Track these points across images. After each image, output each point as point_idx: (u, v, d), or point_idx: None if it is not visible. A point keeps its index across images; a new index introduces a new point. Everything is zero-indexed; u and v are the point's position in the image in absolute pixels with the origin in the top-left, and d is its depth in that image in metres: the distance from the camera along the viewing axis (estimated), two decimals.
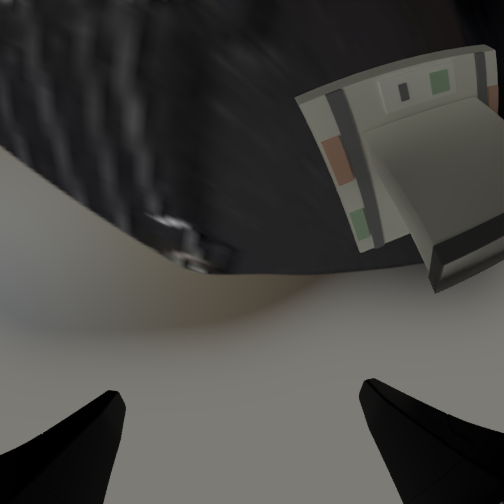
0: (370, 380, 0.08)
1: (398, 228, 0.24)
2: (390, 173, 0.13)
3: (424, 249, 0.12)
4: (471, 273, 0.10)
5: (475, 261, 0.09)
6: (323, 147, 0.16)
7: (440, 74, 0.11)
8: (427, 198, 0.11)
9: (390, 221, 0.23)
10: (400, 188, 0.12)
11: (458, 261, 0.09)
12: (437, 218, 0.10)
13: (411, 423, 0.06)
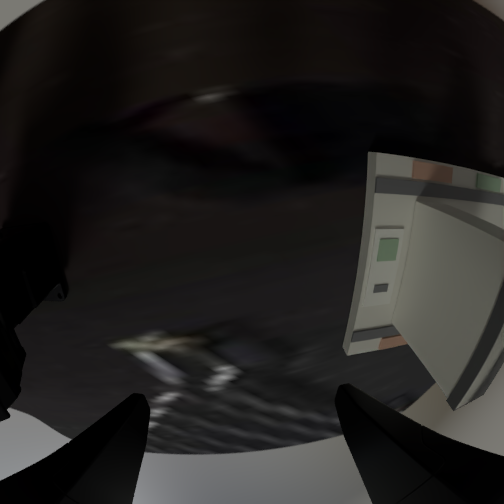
0: (345, 385, 0.08)
1: None
2: (416, 351, 0.17)
3: None
4: (494, 373, 0.10)
5: (482, 380, 0.10)
6: (382, 348, 0.21)
7: (382, 248, 0.17)
8: (435, 365, 0.14)
9: None
10: None
11: (463, 399, 0.11)
12: (444, 378, 0.13)
13: (381, 433, 0.06)
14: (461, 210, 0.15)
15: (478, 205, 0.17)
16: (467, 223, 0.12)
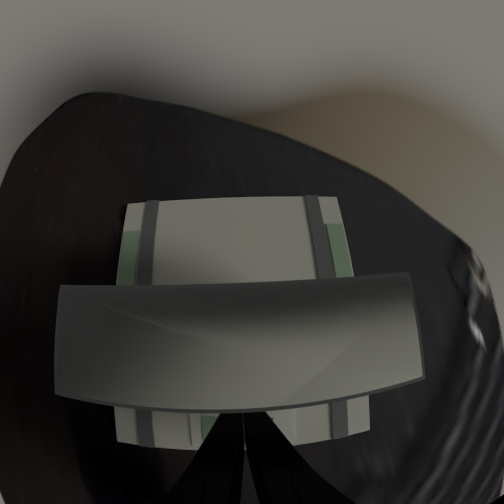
0: None
1: (282, 214, 0.20)
2: None
3: None
4: (345, 296, 0.07)
5: (354, 346, 0.06)
6: None
7: None
8: None
9: (296, 234, 0.19)
10: None
11: (398, 373, 0.06)
12: None
13: (254, 456, 0.05)
14: None
15: (156, 274, 0.17)
16: None
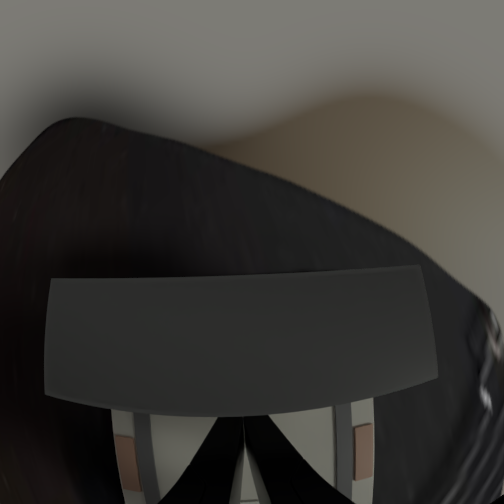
0: None
1: None
2: None
3: None
4: (354, 289, 0.06)
5: (365, 344, 0.06)
6: (371, 472, 0.12)
7: None
8: None
9: None
10: None
11: (411, 371, 0.06)
12: None
13: (254, 456, 0.05)
14: None
15: None
16: None
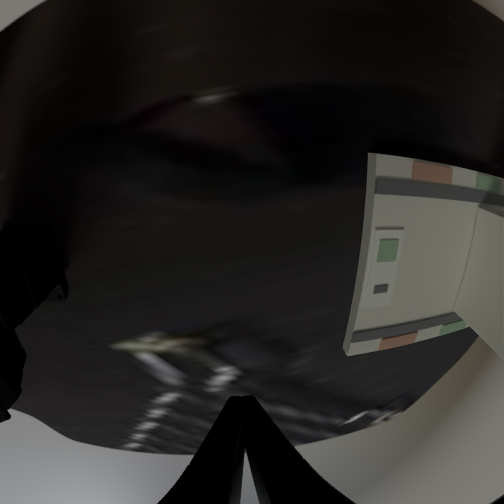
0: (246, 397, 0.08)
1: None
2: (477, 332, 0.17)
3: None
4: None
5: None
6: (382, 349, 0.21)
7: (382, 249, 0.17)
8: (497, 340, 0.14)
9: None
10: (485, 339, 0.16)
11: None
12: None
13: (254, 456, 0.05)
14: None
15: (478, 206, 0.17)
16: None
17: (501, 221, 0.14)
